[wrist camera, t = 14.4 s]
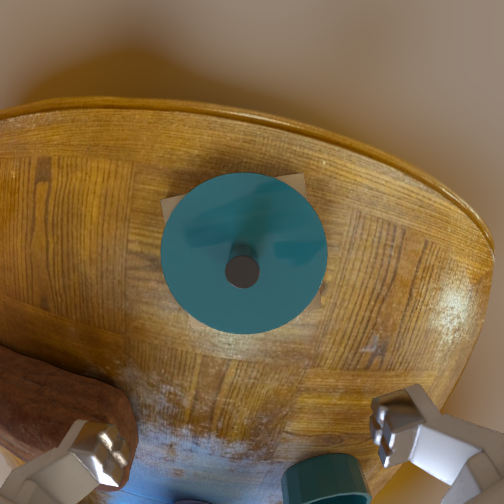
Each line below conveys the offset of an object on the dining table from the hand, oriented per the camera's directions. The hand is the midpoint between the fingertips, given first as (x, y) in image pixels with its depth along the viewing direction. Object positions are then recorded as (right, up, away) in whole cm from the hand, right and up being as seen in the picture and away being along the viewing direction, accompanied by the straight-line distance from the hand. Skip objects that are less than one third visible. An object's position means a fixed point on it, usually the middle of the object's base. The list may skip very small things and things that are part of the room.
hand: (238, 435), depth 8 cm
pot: (+11, -29, +27) cm, 41 cm away
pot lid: (0, +5, +17) cm, 17 cm away
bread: (-27, -14, +23) cm, 38 cm away
